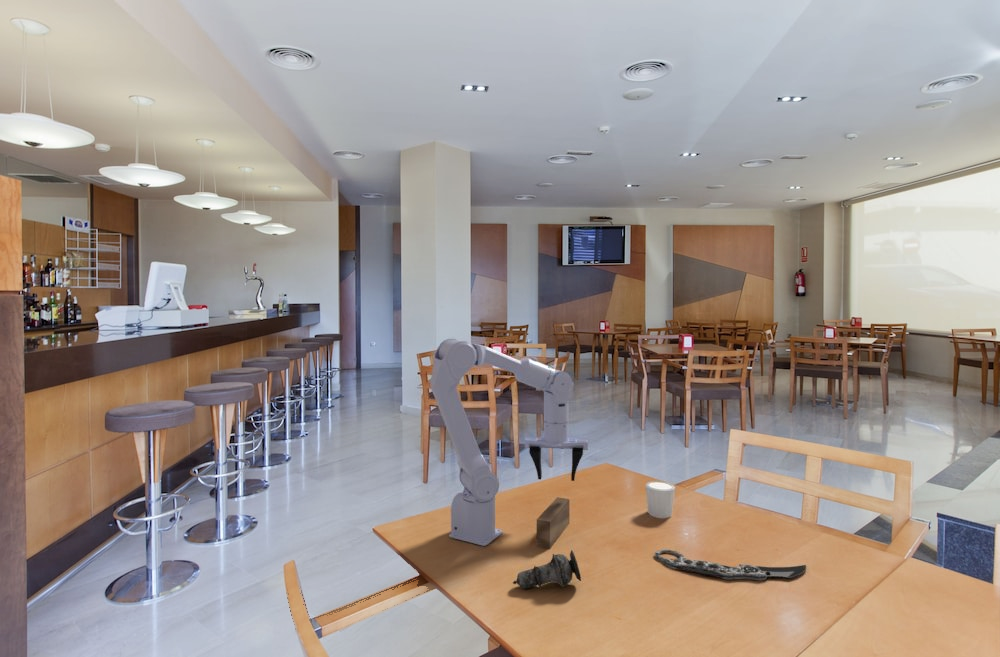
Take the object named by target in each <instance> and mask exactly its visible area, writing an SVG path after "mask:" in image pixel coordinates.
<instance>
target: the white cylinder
mask: <svg viewBox="0 0 1000 657" xmlns="http://www.w3.org/2000/svg"><path fill="white" fill-rule="evenodd" d="M675 490H676V487H675V485H674V484H672V483H670V482H666V481H658V480H657V481H656V480H655V481H648V482H646V483H645V494H646V505H647V513H649V514H650V515H649V514H648V515H649V516H651V517H652V518H657V519H669V518H671V517H672V516H673V508H674V499H675Z"/></svg>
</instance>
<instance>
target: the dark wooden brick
mask: <svg viewBox="0 0 1000 657" xmlns="http://www.w3.org/2000/svg"><path fill="white" fill-rule="evenodd" d="M569 525H570V498H565V497H555V499H554V500H553V501H552V502H551V503H550V504H549V506H547V507H546V508H545V510H543V512H542V513H540V515H539V516H538V517H537V518H536V547H538V548H542V549H543V548H544V549H549V550H551V548H552V547H553V546H554V545H555V543H556V542H557V541H558V539H559V538H560V537H561V536H562V534H563V533H564V532H563V531H565V530H566V529H567V528H568V526H569ZM566 527H567V528H566Z"/></svg>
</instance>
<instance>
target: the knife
mask: <svg viewBox="0 0 1000 657" xmlns="http://www.w3.org/2000/svg"><path fill="white" fill-rule="evenodd" d="M664 553H668V554H673V555H674V556H675V557H676V556H677V557H678V558H666V557H663V556H661V555H662V554H664ZM653 554H654V559H655V560H657V561H659V562H660V563H663V564H664V565H665V566H666V567H668V568H671V569H674V570H682V571H687V572H691V573H695V574H700V575H706V576H712V577H716V578H719V579H723V580H729V581H731V580H732V581H733V580H752V581H759V582H760V581H766V580H767V579H770V578H771V577H776V578H777V577H779V578H787V579H788V578H793V577H797V576H800V575H802V574H804V573H805V571H806V569H807V565H806V564H801V565H795V566H762V565H761V566H760V565H753V564H747V563H746V564H744V563H739V564H738V565H739V566H730V565H729V566H728V565H723V564H720V563H717V562H711V561H706V560H697V559H696V560H694V559H688V558H686V557H685V556H684V555H683V553H682V552H680V551H677V550H674V549H659V550H657V551H655V552H654V553H653Z"/></svg>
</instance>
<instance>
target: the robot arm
mask: <svg viewBox="0 0 1000 657" xmlns="http://www.w3.org/2000/svg"><path fill="white" fill-rule="evenodd" d="M485 364H486V365H490V366H493V367H496V368H498V369H500V370H504V371H507V372H510V373H512V374H513V375H514V377H515V380H516V381H517V382H519V383H523V384H524V385H527V386H530V387H532V388H535V389H537V390H542V392H543V436H542V437H525V439H524V448H525V449H529V451H528V453H529V456H530V457H531V459H532V461H533V464H534V466H535V469H536V474H537V475H536V476H537V479H538V480H542V478H543V476H542V474H543V472H542V449H564V450H565V449H566V450H569V449H570V450H572V451H571V474H570V476H571V477H570V478H571V480H570V481H571V482H574V481H575V477H576V474H577V473H576V472H577V469H578V466H579V465H580V464H579V463H580V461H581V459H582V457H583V454H584V451H588V450H589V442H588V439H581V438H580V439H578V438H574V437H573V438H572V437H569V433H570V432H569V428H570V427H569V426H570V424H569V422H570V421H569V418H570V417H569V416H570V414H569V412H570V411H569V409H570V408H569V406H570V405H569V403H570V402H569V401H570V394H571V393H572V392H573V390H574V385H575V383H574V382H573V381H572V377H571V376H570V374H569V373H568V372H567V371H563V370H558V369H555V365H552V364H548V365H547V364H545V363H542V362H540V361H538V357H537V358H536V357H535V356H530V357H523V358H521V359H517V358H514V357H512V356H509V355H507V354H504V353H503V352H500V351H498V350H495V349H494V348H491V347H488V346H486V345H483V344H477V343H474V342H473V343H472V342H468V341H465V340H458V339H456V338H446V339H445V340H443V341H441V343H440V344H439V346H438V347H437V348H436V350H435V352H434V354H433V364H432V365H433V366H432V371H431V377H430V383H429V385H430V388H431V392H432V394H433V397H434V400H435V402H436V404H437V407H438V411H439V413H440V415H441V418H442V421H443V423H444V425H445V427H446V430H447V432H448V435H449V438H450V440H451V443H452V446H453V448H454V451H455V453H456V457H457V458H458V461H457V465H458V468H459V476H458V477H459V482H460V484H461V485H462V486H463V490H462V492H458V493H456V495H455V496H454V497H453V499H452V502H451V506H450V528H451V529H450V533H449V534H448V536H449V538H451V539H456V540H459V541H463V542H467V543H471V544H475V545H479V546H482V547H486V546H487V545H489V544H490V543H491V542H493V541H494V540H495V539H497V538H498V537H500V535H501V534H503V533H504V531H503V529H499V528H496V495H497V493H498V492H499V488H500V481H499V478H498V477H497V475H495V474H494V473H493V472H492V471H491V469H490V467H489V465H488V463H487V461H486V460H485V458H484V456H483V455H482V453H481V450H480V448H479V445H478V443H477V440H476V438H475V435H474V433H473V430H472V427H471V423H470V421H469V418H468V416H467V413H466V411H465V408H464V405H463V403H462V400H461V398H460V395H459V393H458V390H457V387H458V385H459V384H460V382H461V380H462V378H463V377H464V376H465V375H466V374H467V373H468V372H469V371H470V370H472V368H473V367H474V366H476V367H479V366H483V365H485Z"/></svg>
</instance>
